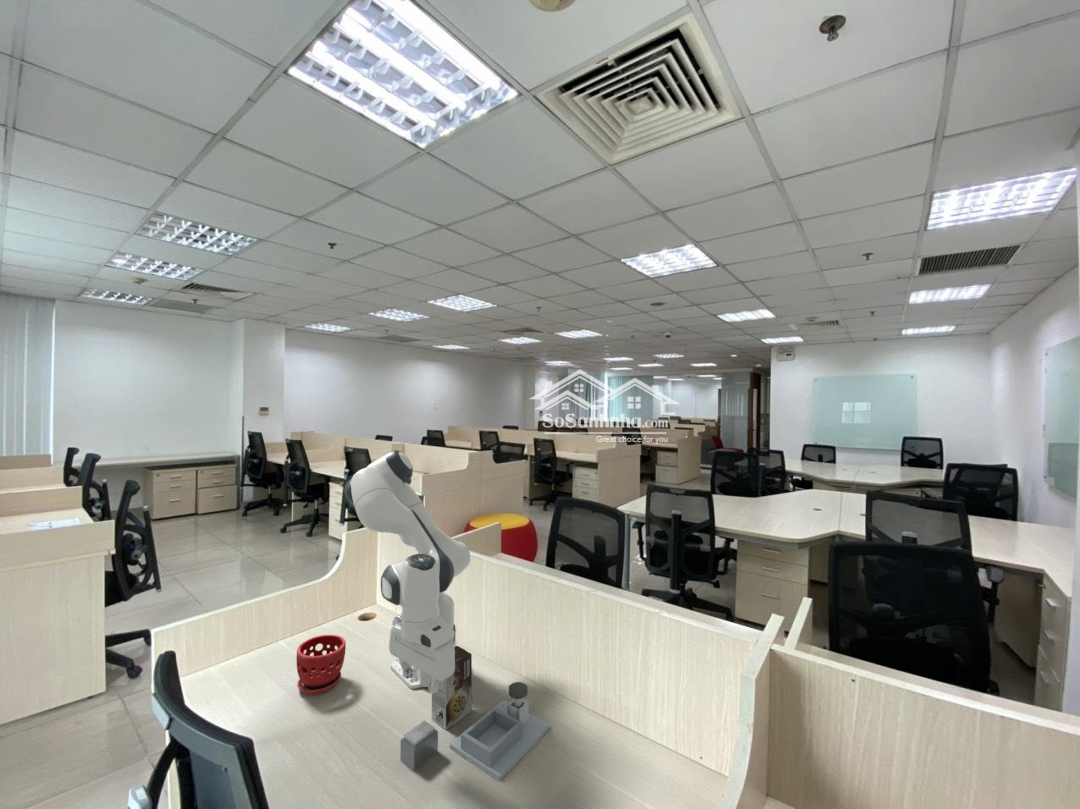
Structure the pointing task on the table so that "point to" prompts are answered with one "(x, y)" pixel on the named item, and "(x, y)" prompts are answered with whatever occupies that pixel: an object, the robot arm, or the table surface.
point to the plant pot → (320, 664)
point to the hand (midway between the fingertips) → (420, 683)
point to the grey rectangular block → (419, 745)
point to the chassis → (500, 738)
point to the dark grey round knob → (518, 693)
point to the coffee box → (454, 692)
